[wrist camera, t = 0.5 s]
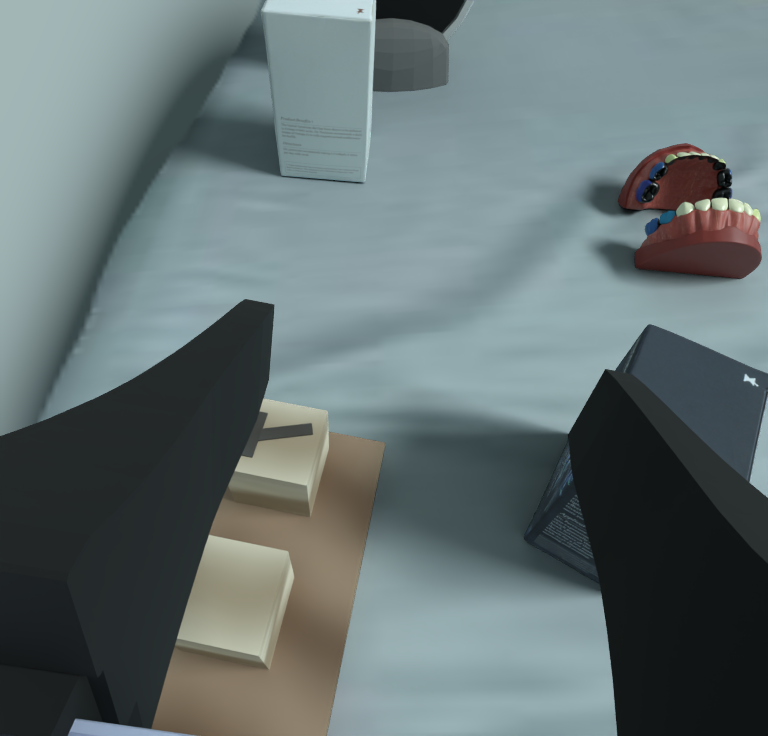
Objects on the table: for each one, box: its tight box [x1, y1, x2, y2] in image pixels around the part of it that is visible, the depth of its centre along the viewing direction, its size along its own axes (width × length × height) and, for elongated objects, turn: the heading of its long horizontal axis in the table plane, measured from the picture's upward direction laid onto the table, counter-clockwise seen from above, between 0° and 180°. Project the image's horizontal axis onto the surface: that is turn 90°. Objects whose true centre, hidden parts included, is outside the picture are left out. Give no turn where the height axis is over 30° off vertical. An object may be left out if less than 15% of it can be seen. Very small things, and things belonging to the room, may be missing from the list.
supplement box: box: [261, 0, 376, 182], centre depth 43 cm, size 7×7×13 cm
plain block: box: [175, 535, 294, 670], centre depth 24 cm, size 4×4×4 cm
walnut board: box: [151, 432, 385, 736], centre depth 26 cm, size 20×10×1 cm, turn 170°
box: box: [524, 324, 768, 584], centre depth 26 cm, size 8×6×11 cm
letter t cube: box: [228, 399, 329, 517], centre depth 28 cm, size 4×4×4 cm
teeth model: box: [618, 143, 762, 279], centre depth 42 cm, size 8×6×12 cm
